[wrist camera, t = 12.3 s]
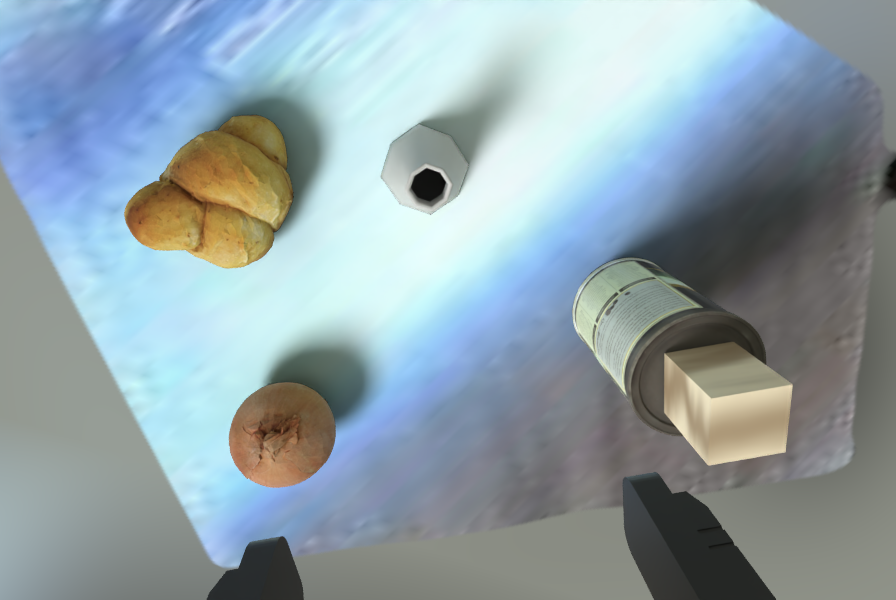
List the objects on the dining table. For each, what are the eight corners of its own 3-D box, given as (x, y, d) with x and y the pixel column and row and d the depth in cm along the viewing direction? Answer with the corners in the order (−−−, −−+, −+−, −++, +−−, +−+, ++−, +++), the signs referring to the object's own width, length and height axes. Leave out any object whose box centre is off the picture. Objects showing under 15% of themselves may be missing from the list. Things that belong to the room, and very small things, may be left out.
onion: (290, 361, 53) (268, 362, 43) (359, 419, 53) (352, 435, 43) (225, 433, 52) (186, 451, 42) (296, 493, 52) (274, 526, 42)
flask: (416, 107, 42) (418, 108, 33) (483, 162, 44) (503, 177, 35) (366, 178, 44) (354, 197, 35) (432, 227, 46) (438, 259, 37)
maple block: (664, 353, 36) (711, 398, 31) (733, 341, 36) (792, 384, 31) (664, 412, 38) (708, 465, 32) (729, 401, 38) (785, 452, 33)
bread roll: (239, 87, 41) (201, 83, 34) (336, 170, 44) (321, 184, 36) (151, 206, 44) (98, 227, 36) (247, 277, 47) (216, 310, 39)
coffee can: (682, 256, 49) (783, 311, 36) (663, 352, 53) (748, 435, 39) (577, 255, 48) (640, 312, 35) (565, 353, 52) (618, 438, 39)
